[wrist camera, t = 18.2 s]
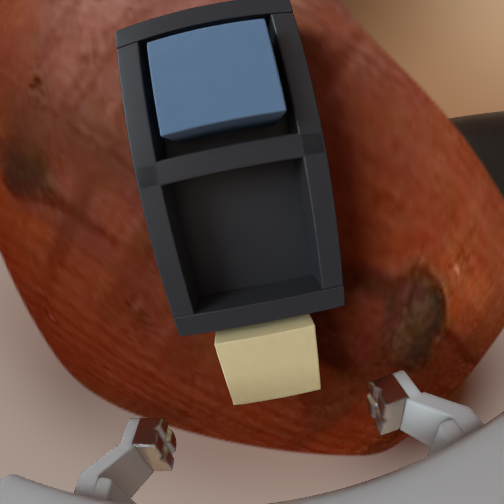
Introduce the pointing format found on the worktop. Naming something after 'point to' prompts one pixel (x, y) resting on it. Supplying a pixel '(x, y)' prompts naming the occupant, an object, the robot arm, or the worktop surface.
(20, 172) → the worktop surface
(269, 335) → the pad beige
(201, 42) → the pad blue
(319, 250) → the backing frame
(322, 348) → the worktop surface
